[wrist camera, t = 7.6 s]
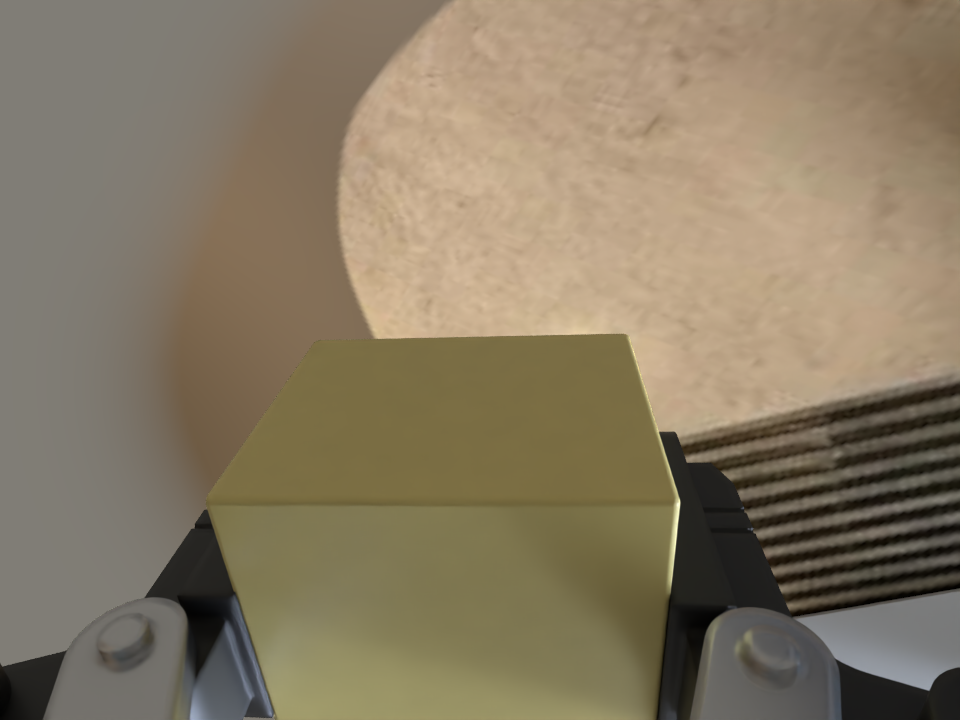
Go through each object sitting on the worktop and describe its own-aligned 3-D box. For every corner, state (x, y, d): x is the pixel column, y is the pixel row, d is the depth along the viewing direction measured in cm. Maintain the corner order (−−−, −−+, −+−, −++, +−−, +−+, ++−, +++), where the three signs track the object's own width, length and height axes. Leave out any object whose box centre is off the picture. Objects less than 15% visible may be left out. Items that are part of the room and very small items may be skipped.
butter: (358, 568, 13) (290, 778, 9) (314, 338, 10) (199, 499, 7) (617, 571, 12) (651, 795, 9) (629, 331, 10) (683, 500, 6)
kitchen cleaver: (1043, 586, 42) (1045, 700, 46) (1026, 569, 44) (1029, 680, 47) (580, 654, 49) (609, 750, 52) (579, 637, 50) (607, 731, 53)
